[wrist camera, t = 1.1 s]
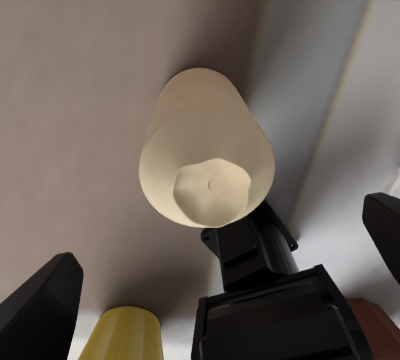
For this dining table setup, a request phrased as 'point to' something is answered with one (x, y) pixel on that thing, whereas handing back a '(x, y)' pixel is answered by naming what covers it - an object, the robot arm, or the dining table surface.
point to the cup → (393, 184)
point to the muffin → (377, 329)
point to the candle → (204, 152)
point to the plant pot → (125, 336)
